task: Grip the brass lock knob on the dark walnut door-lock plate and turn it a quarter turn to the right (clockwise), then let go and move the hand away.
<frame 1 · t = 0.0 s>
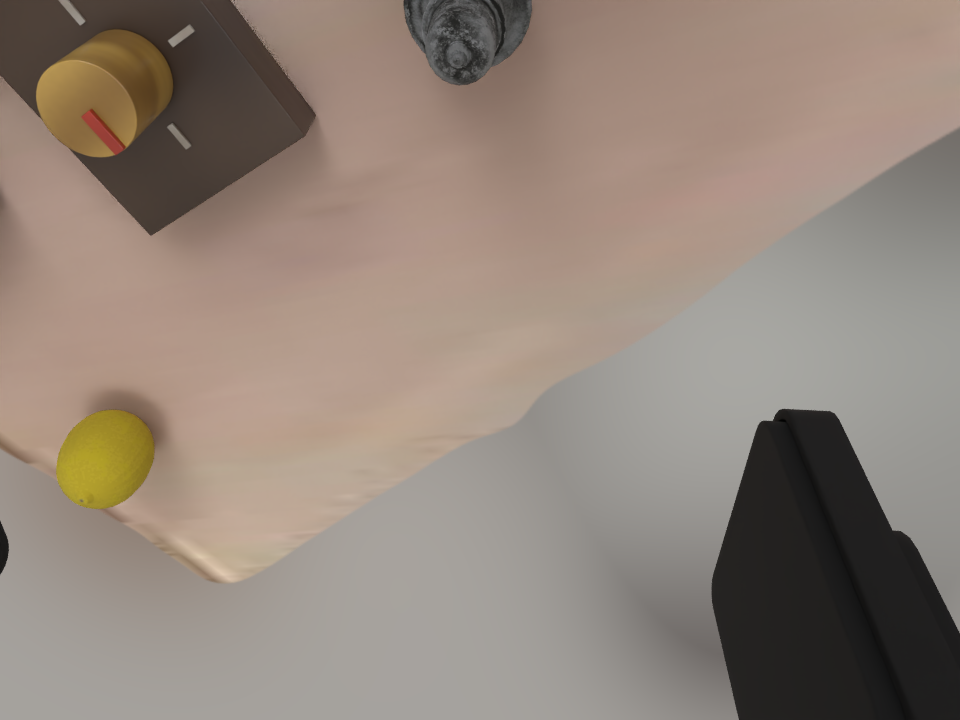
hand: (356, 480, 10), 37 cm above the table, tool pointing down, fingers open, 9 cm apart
lock plate: (149, 57, 44), on the table
lock knob: (107, 93, 40), point 6 cm above the table, hinge at 0.0°
lemon: (130, 416, 59), on the table
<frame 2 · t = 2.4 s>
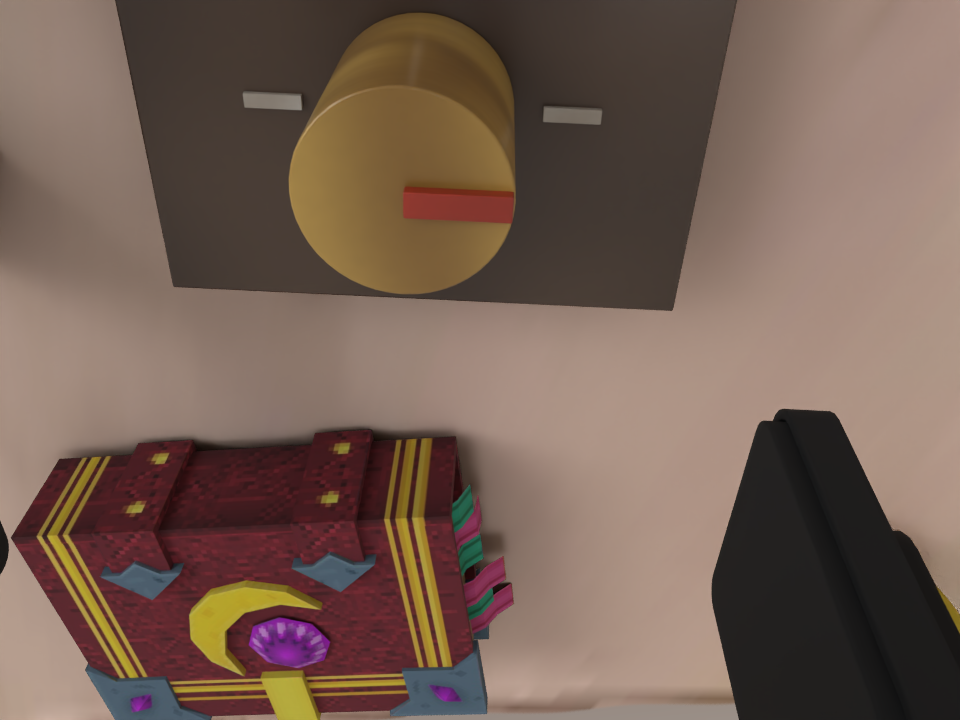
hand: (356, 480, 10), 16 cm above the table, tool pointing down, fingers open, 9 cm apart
decorative book: (305, 534, 34), on the table
lock plate: (432, 67, 23), on the table
lock knob: (413, 150, 18), point 6 cm above the table, hinge at 0.0°
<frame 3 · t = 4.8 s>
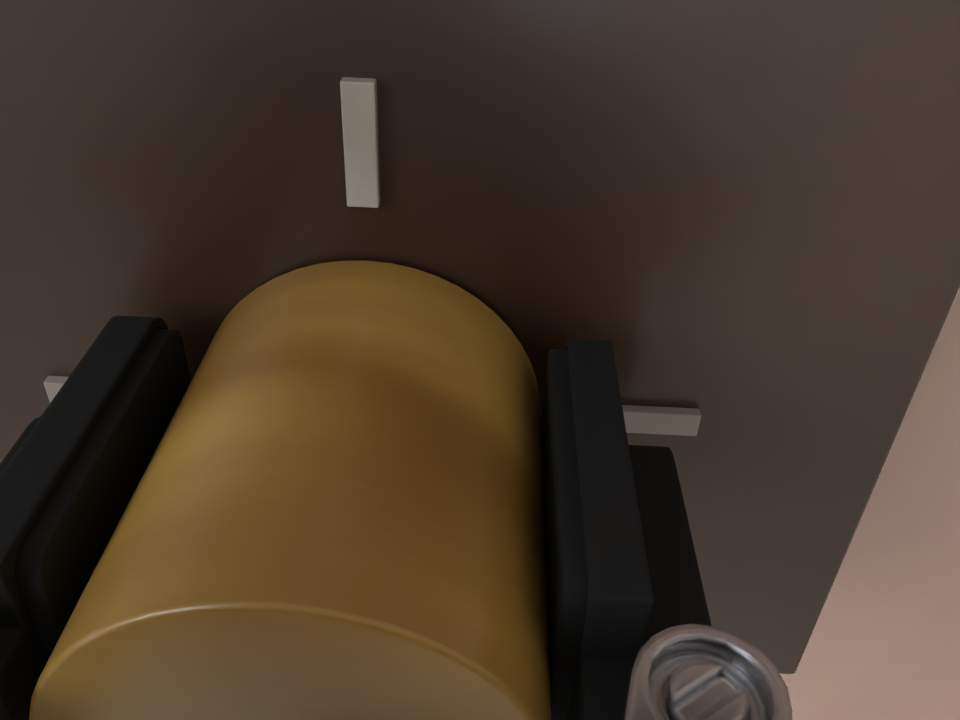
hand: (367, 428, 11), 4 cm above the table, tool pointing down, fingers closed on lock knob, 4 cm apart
lock plate: (398, 286, 14), on the table
lock knob: (339, 559, 9), point 6 cm above the table, hinge at 0.1°, touching gripper
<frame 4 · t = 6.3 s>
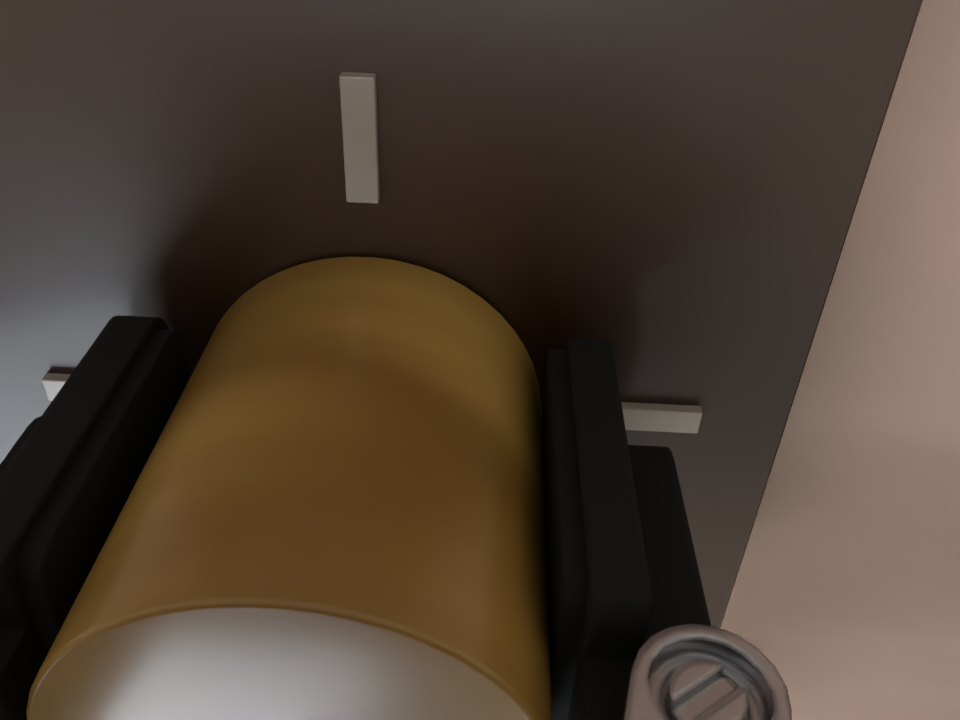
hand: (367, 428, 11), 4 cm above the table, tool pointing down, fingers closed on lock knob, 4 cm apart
lock plate: (398, 283, 14), on the table
lock knob: (339, 556, 9), point 6 cm above the table, hinge at -91.9°, touching gripper
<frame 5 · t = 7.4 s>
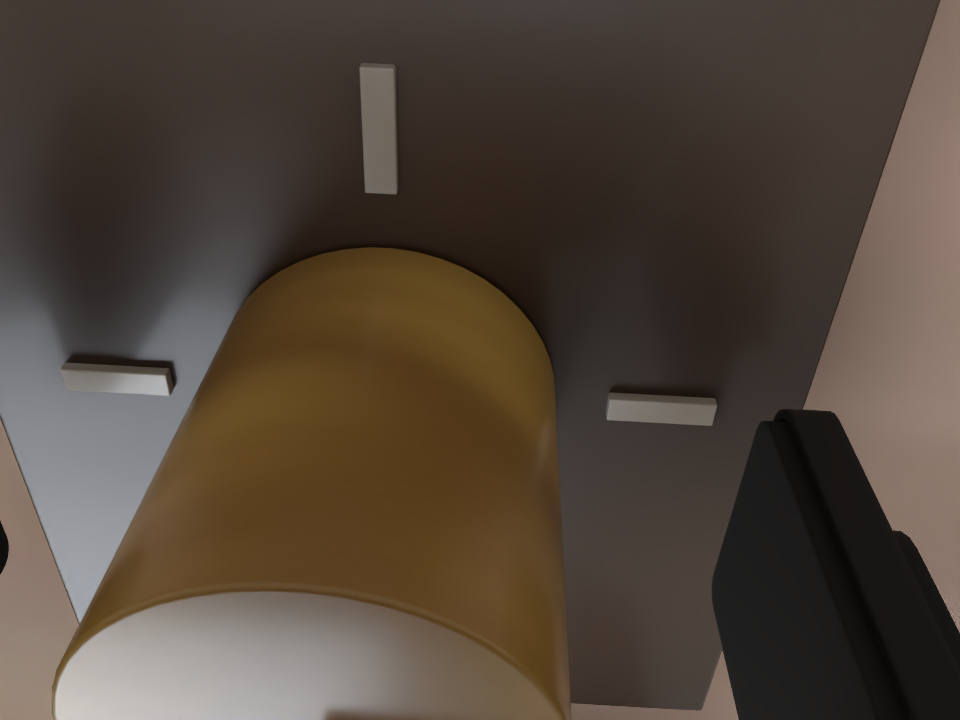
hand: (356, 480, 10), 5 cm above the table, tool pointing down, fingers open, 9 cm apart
lock plate: (412, 276, 14), on the table
lock knob: (357, 545, 9), point 6 cm above the table, hinge at -93.0°
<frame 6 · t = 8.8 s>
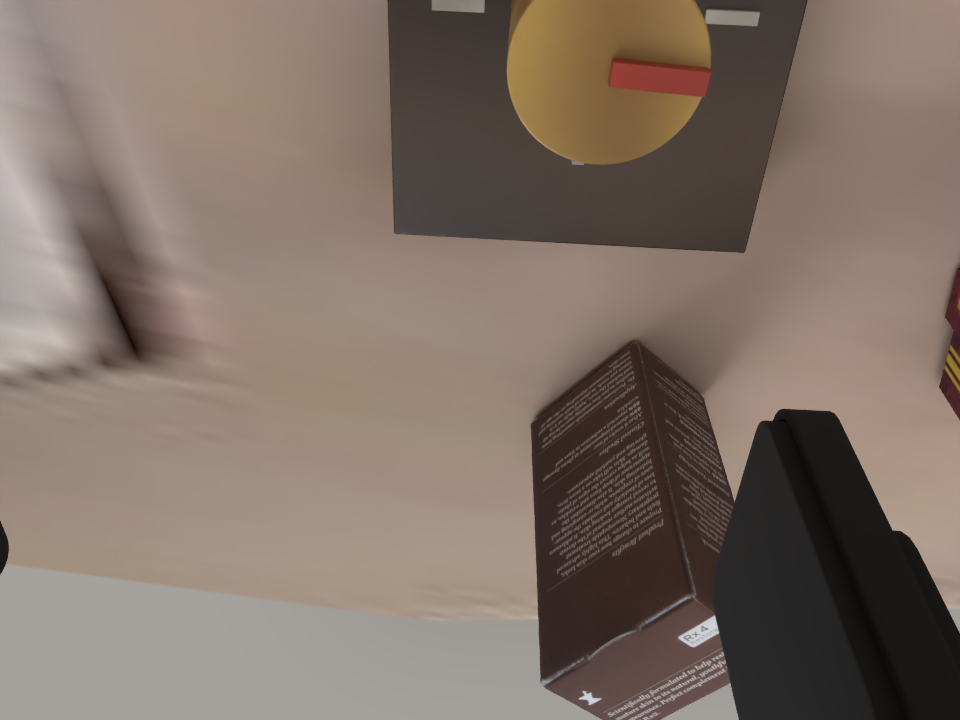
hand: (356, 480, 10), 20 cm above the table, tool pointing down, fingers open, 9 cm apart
box: (618, 406, 35), on the table
lock knob: (600, 39, 20), point 6 cm above the table, hinge at -93.0°
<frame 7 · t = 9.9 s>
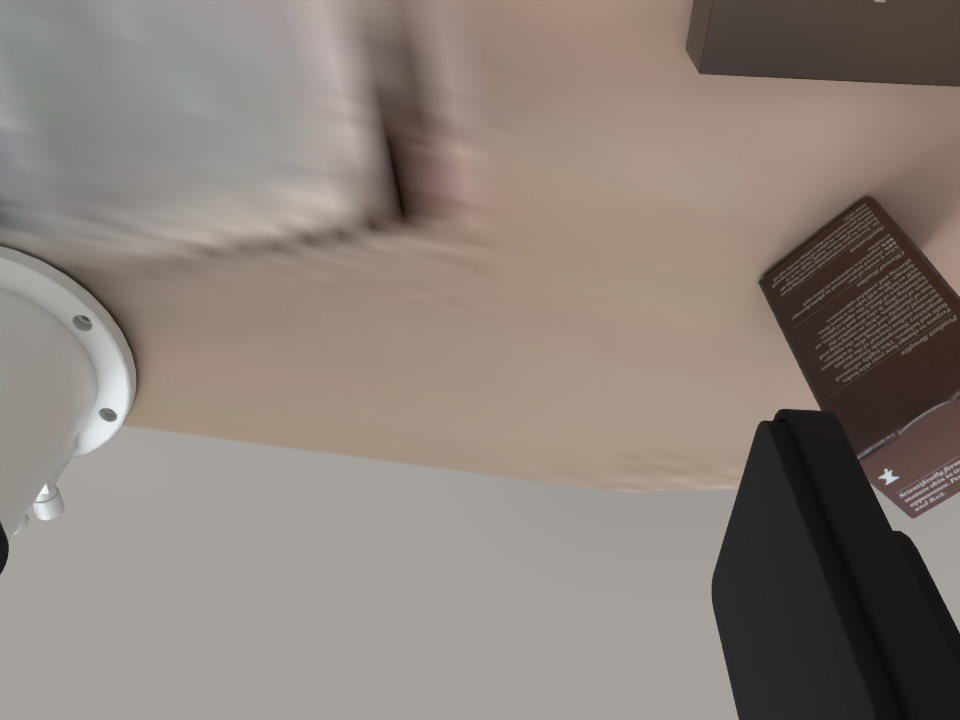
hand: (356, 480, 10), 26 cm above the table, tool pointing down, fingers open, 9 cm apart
box: (839, 264, 38), on the table
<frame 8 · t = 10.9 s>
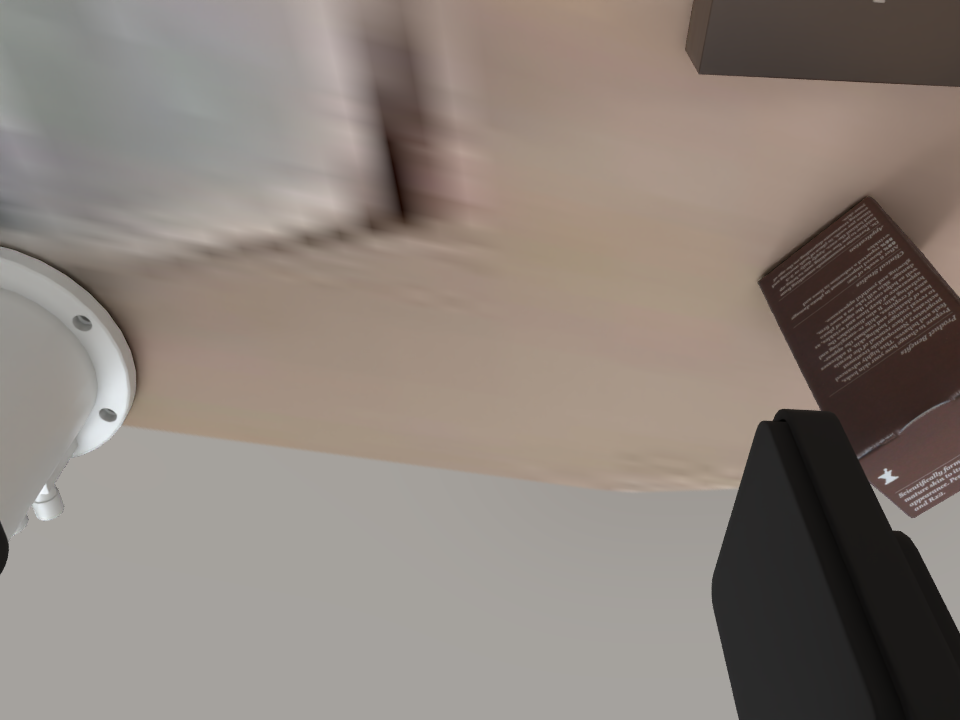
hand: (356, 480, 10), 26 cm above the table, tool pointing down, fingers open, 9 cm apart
box: (838, 264, 38), on the table
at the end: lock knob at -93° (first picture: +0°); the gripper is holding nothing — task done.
